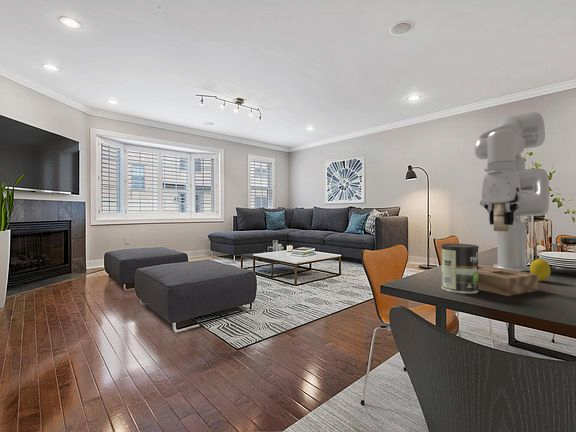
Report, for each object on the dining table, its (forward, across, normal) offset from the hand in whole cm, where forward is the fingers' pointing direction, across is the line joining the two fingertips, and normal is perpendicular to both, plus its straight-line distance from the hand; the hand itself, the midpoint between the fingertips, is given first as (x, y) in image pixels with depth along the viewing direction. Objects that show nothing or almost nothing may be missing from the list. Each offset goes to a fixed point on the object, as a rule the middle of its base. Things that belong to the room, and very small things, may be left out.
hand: (501, 224), depth 99 cm
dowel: (+2, 0, 0) cm, 2 cm away
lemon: (+20, +1, +18) cm, 27 cm away
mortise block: (+20, -3, -3) cm, 21 cm away
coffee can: (+21, -2, -16) cm, 26 cm away
